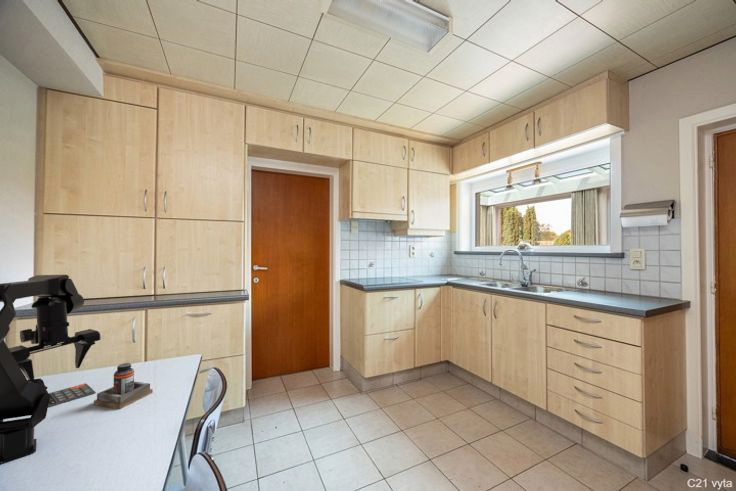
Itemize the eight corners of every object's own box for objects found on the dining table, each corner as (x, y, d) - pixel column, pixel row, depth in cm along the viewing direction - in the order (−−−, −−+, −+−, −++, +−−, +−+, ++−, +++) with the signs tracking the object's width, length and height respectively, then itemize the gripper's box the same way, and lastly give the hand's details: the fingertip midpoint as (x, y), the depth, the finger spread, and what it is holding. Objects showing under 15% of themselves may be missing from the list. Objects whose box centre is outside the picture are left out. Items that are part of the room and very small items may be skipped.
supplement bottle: (110, 396, 94) (110, 365, 94) (129, 389, 99) (129, 360, 99) (117, 400, 92) (118, 368, 92) (137, 393, 96) (137, 363, 96)
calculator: (96, 391, 99) (27, 411, 86) (95, 394, 99) (27, 415, 86) (85, 382, 105) (21, 400, 93) (85, 385, 105) (21, 403, 93)
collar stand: (152, 392, 99) (152, 383, 99) (120, 408, 89) (120, 398, 89) (128, 389, 102) (128, 379, 102) (93, 404, 91) (94, 394, 92)
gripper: (82, 308, 94) (84, 356, 95) (-12, 326, 77) (-8, 384, 78) (100, 312, 89) (102, 363, 90) (4, 332, 72) (9, 394, 73)
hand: (55, 375), depth 83 cm, fingers open, 9 cm apart
